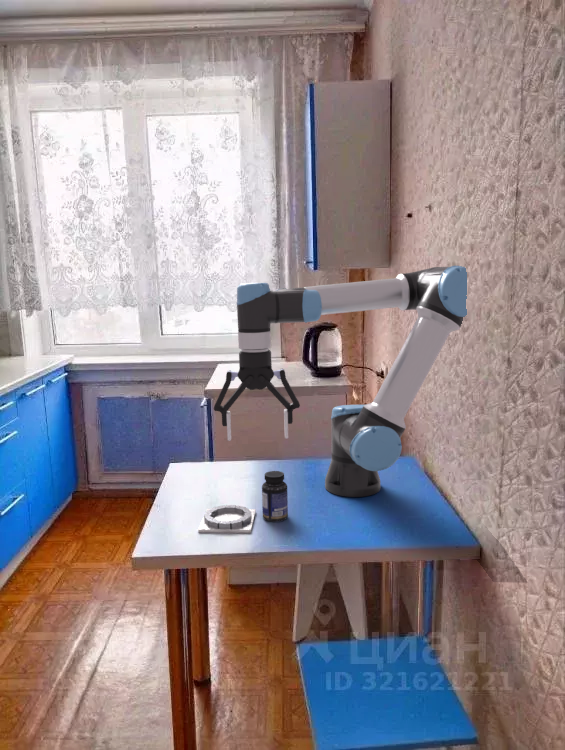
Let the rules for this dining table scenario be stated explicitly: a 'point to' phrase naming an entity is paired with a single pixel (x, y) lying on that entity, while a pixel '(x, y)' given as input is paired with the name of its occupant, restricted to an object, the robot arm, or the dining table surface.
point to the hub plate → (227, 520)
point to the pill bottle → (274, 497)
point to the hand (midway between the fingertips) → (258, 438)
